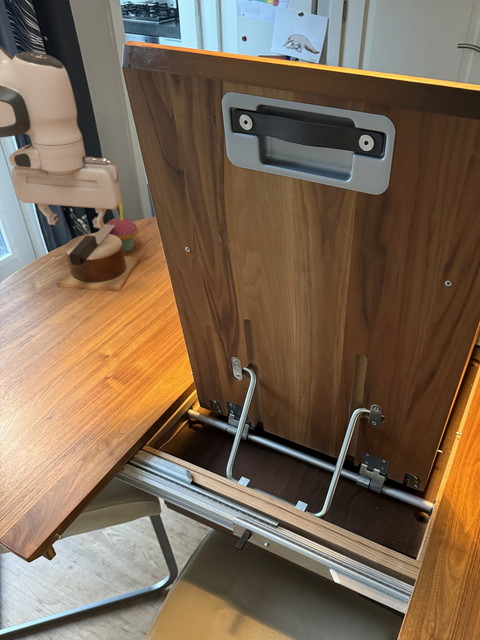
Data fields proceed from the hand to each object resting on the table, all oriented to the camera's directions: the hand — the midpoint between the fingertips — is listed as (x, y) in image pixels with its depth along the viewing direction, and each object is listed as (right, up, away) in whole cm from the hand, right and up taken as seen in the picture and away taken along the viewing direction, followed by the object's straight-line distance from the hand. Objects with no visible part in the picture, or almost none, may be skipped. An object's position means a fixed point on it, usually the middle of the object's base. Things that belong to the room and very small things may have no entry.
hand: (76, 225), depth 105 cm
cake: (0, -7, +13) cm, 15 cm away
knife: (+1, -2, +8) cm, 8 cm away
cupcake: (+3, +1, +23) cm, 23 cm away
